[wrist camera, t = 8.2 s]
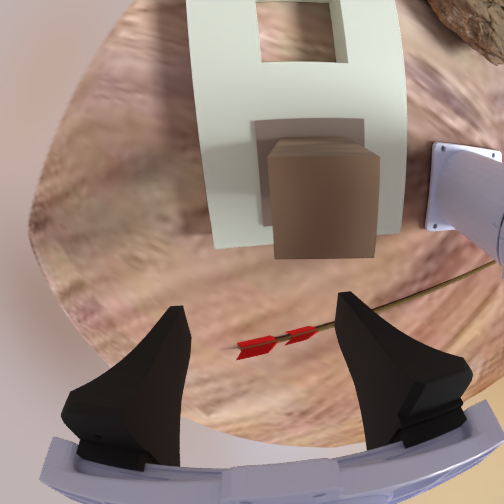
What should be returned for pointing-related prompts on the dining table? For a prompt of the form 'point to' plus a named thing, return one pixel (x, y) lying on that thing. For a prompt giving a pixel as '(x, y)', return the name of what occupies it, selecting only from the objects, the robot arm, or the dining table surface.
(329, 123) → the board
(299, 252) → the block
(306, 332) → the arrow
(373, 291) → the dining table surface
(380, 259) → the dining table surface
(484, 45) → the rock
